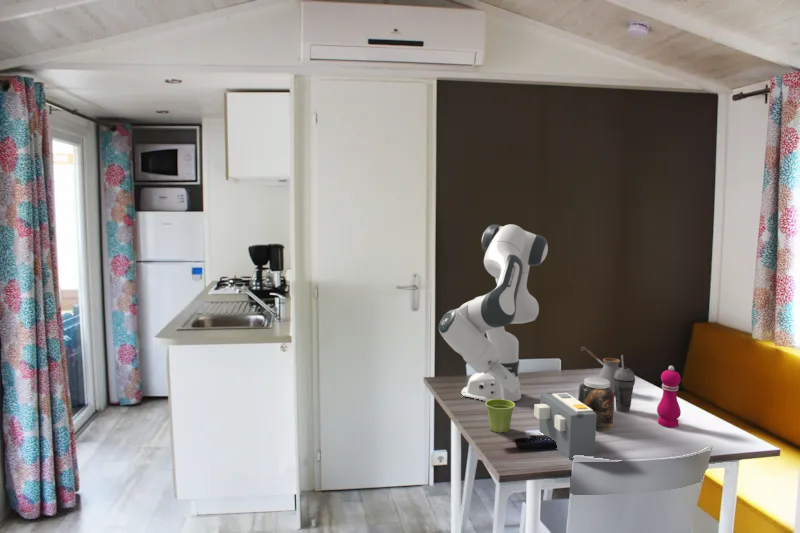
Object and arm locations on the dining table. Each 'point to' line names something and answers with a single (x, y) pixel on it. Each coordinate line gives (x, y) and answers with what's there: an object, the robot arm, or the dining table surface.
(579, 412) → the console
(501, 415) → the plant pot
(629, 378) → the beverage cup
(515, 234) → the robot arm
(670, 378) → the pepper mill
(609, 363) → the coffee pot
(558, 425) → the button
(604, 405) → the jar
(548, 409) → the button
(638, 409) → the dining table surface
